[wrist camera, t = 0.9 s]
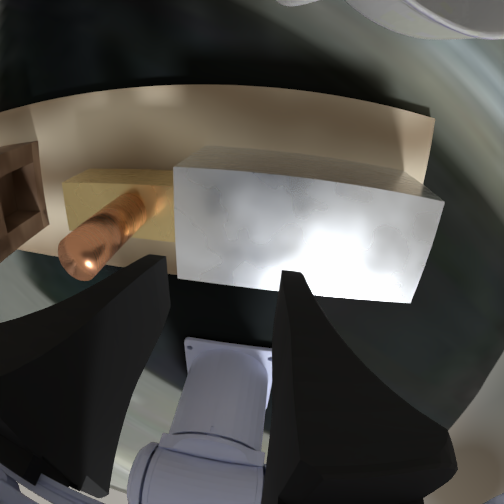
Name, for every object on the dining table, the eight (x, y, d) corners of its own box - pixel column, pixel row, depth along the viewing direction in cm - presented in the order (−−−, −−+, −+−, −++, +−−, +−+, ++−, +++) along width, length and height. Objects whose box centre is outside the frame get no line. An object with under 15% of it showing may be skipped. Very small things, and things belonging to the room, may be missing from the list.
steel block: (384, 251, 19) (410, 303, 14) (204, 231, 20) (177, 278, 15) (404, 170, 17) (444, 202, 12) (205, 145, 17) (173, 166, 12)
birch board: (386, 293, 21) (388, 298, 21) (18, 246, 23) (15, 248, 23) (431, 117, 15) (435, 118, 15) (-2, 113, 17) (-6, 114, 17)
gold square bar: (387, 242, 18) (435, 331, 11) (94, 211, 19) (17, 274, 12) (399, 196, 16) (464, 268, 9) (89, 168, 17) (1, 218, 10)
